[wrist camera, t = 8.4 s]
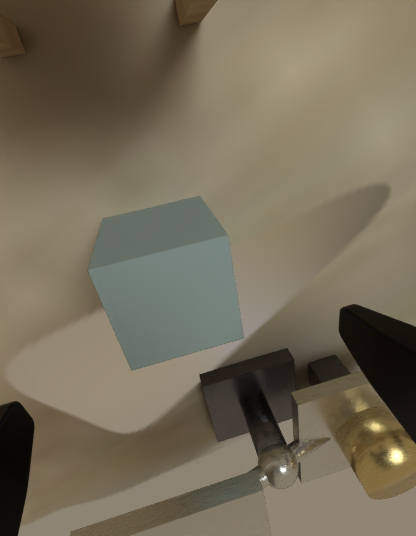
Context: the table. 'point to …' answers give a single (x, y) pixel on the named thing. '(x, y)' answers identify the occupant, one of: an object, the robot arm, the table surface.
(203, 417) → the table surface
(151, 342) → the block
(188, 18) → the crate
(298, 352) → the table surface
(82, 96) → the table surface
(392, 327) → the robot arm
